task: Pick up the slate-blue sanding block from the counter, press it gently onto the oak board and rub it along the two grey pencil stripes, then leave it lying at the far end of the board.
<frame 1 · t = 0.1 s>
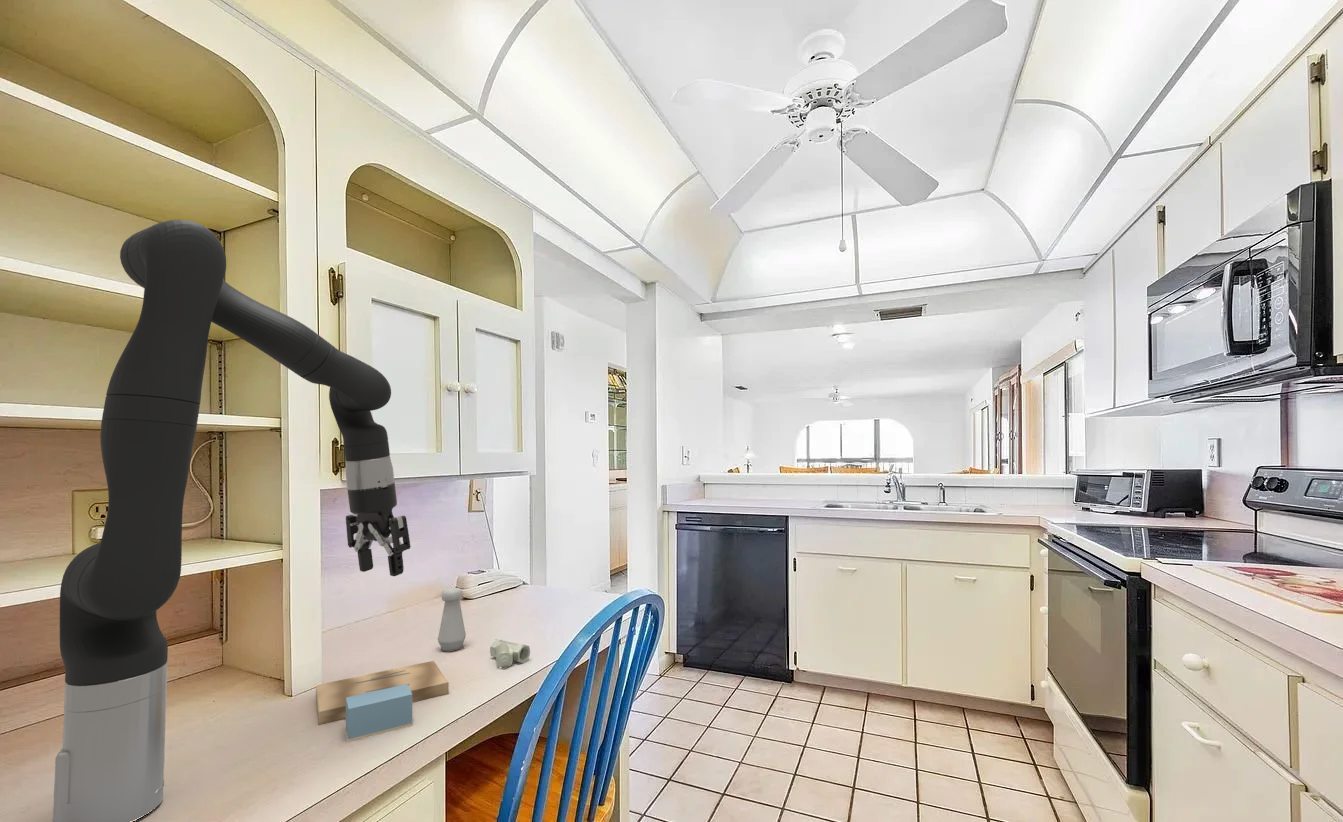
hand: (381, 572, 104), 22 cm above the counter, tool pointing down, fingers open, 8 cm apart
sanding block: (379, 727, 92), on the counter
pipe fitting: (504, 664, 119), on the counter
oak board: (382, 695, 104), on the counter
salt shaker: (451, 649, 128), on the counter
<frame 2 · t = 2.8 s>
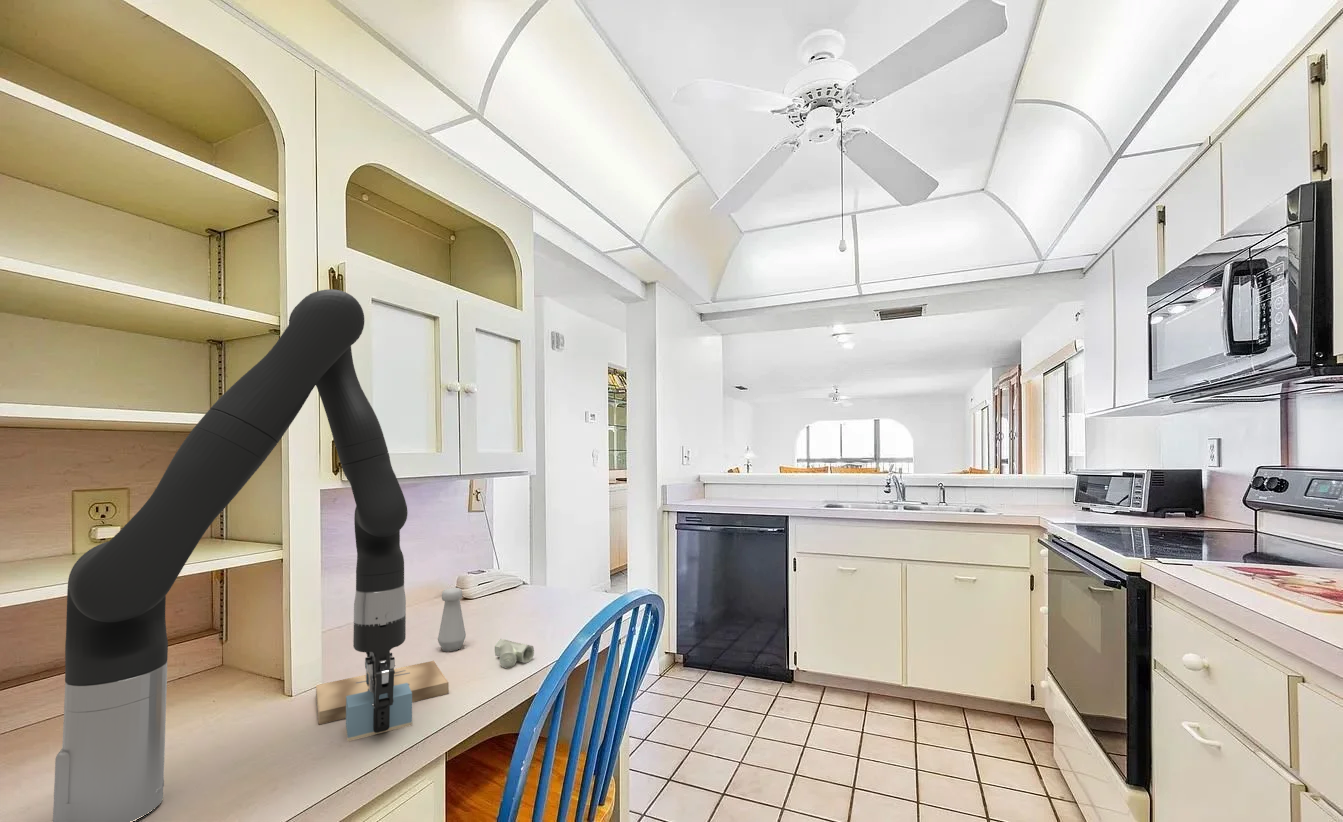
hand: (379, 723, 93), 1 cm above the counter, tool pointing down, fingers closed on sanding block, 5 cm apart
sanding block: (378, 726, 93), on the counter, touching gripper
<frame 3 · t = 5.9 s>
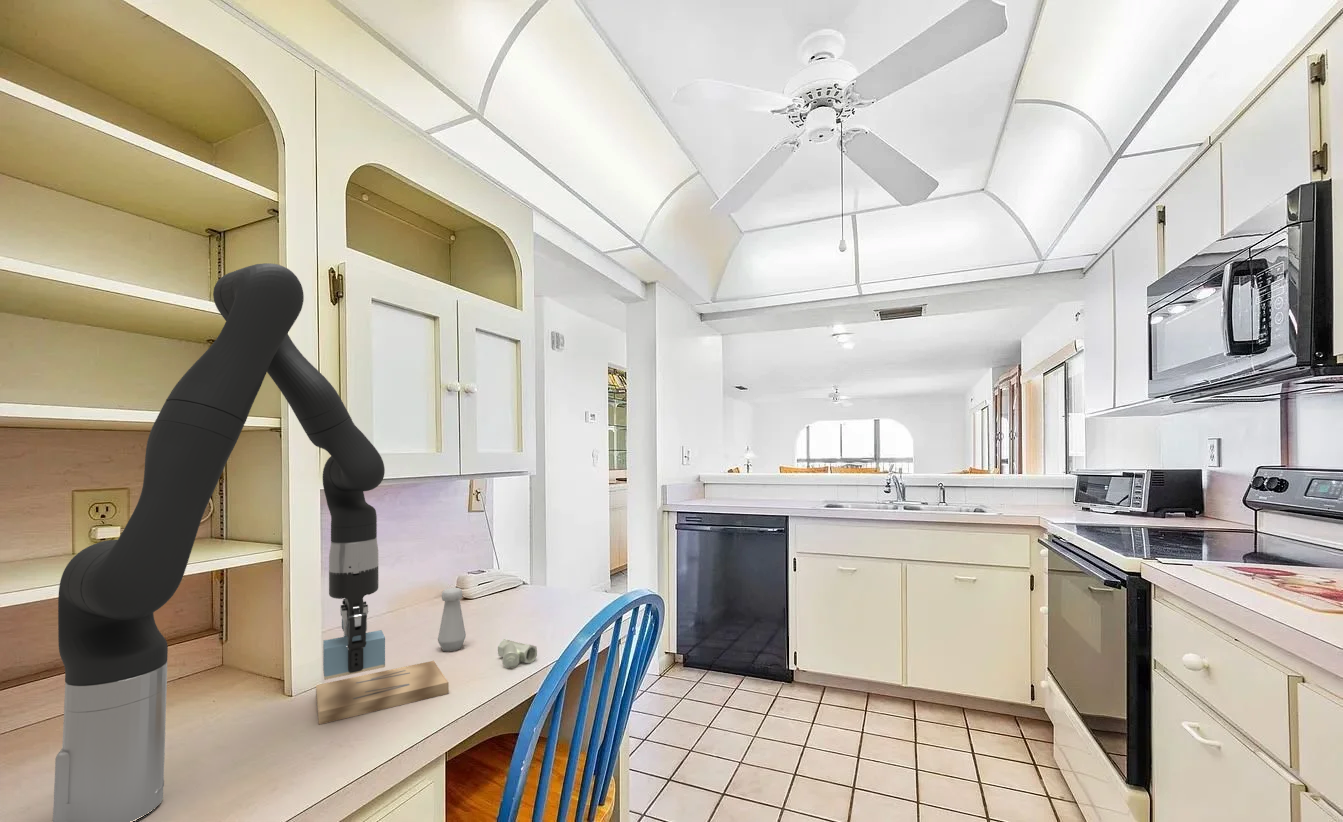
hand: (354, 665, 99), 7 cm above the counter, tool pointing down, fingers closed on sanding block, 5 cm apart
sanding block: (354, 668, 99), point 7 cm above the counter, touching gripper
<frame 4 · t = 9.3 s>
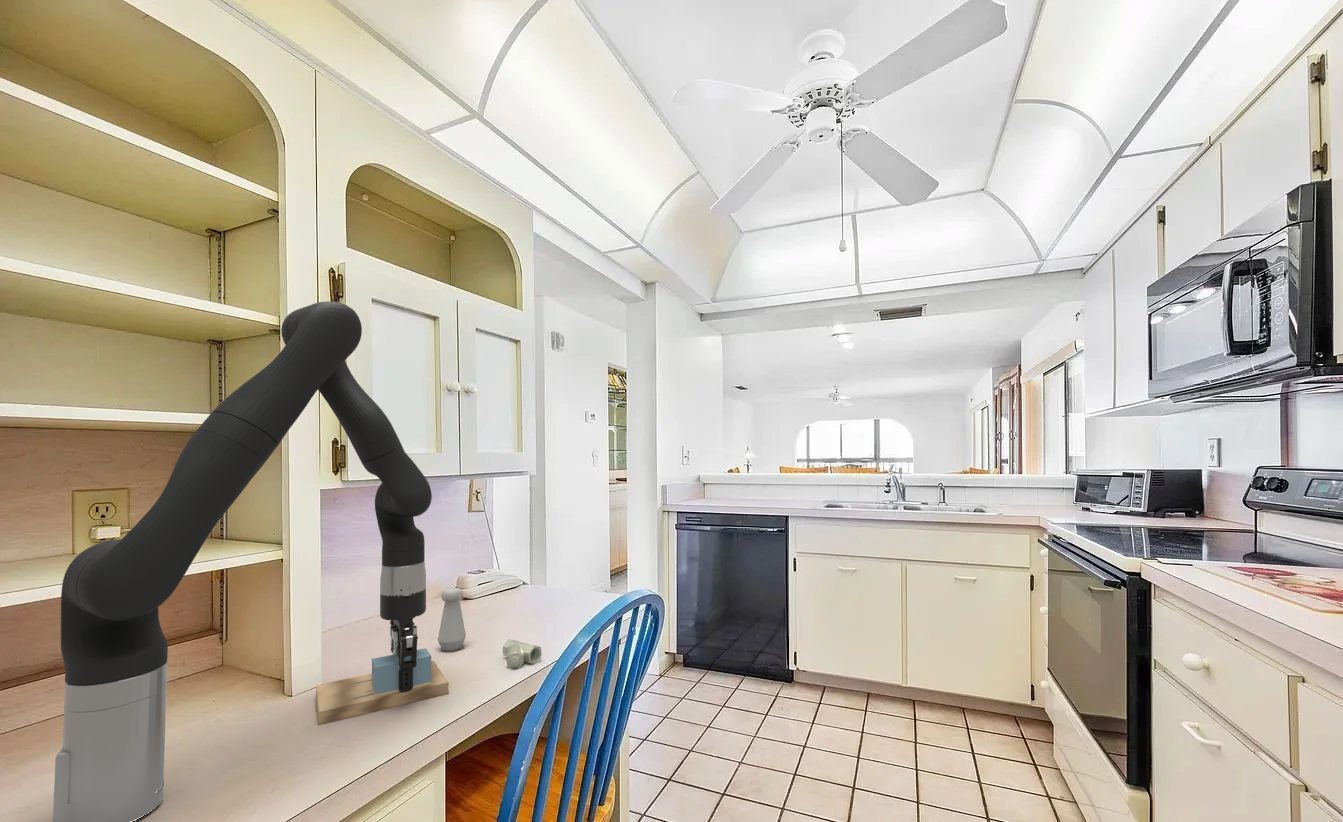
hand: (403, 684, 103), 2 cm above the counter, tool pointing down, fingers closed on sanding block, 5 cm apart
sanding block: (401, 686, 103), point 2 cm above the counter, touching gripper, oak board
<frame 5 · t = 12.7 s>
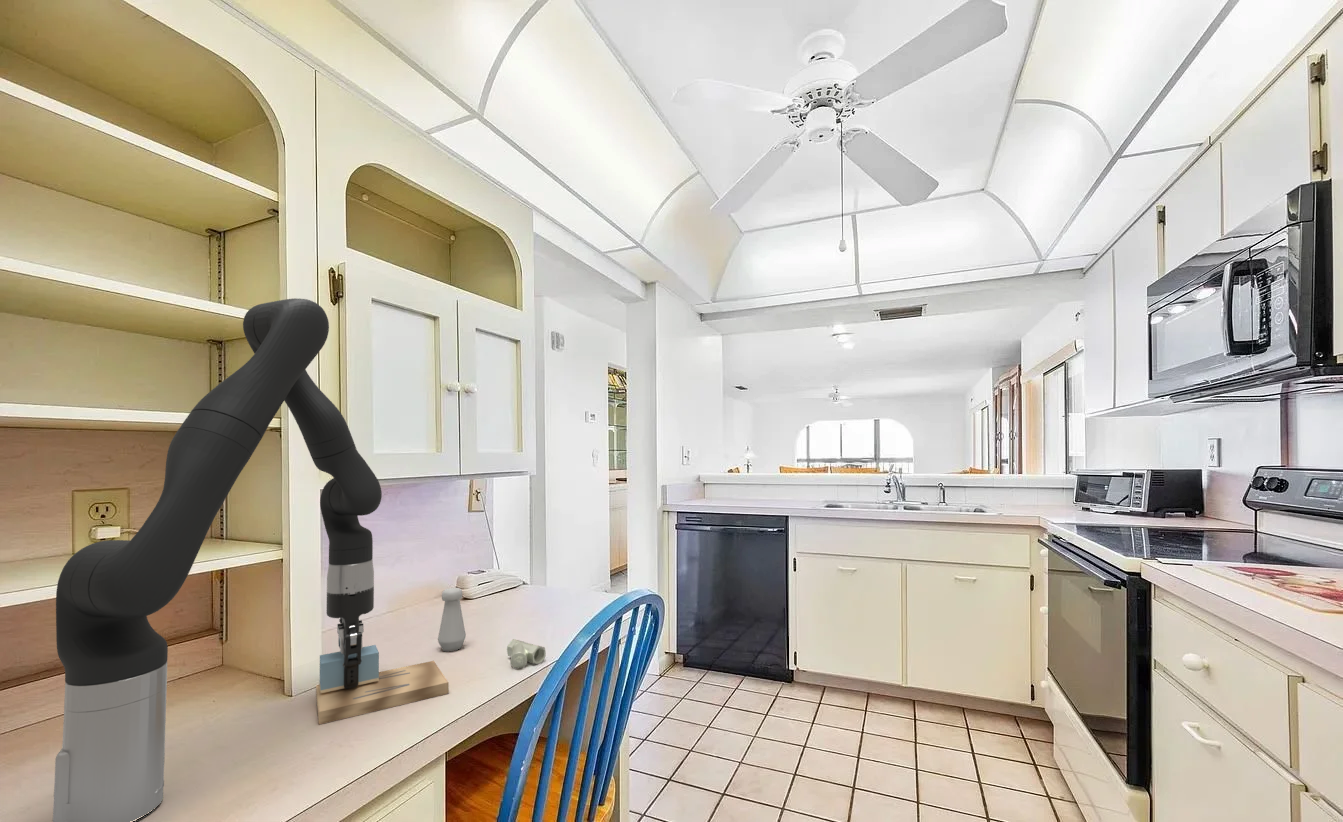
hand: (349, 681, 104), 3 cm above the counter, tool pointing down, fingers closed on sanding block, 5 cm apart
sanding block: (349, 682, 104), point 2 cm above the counter, touching gripper
when the fingers open (3 cm above the counter, at t = 16.0 s): sanding block stays where it is, resting on oak board.
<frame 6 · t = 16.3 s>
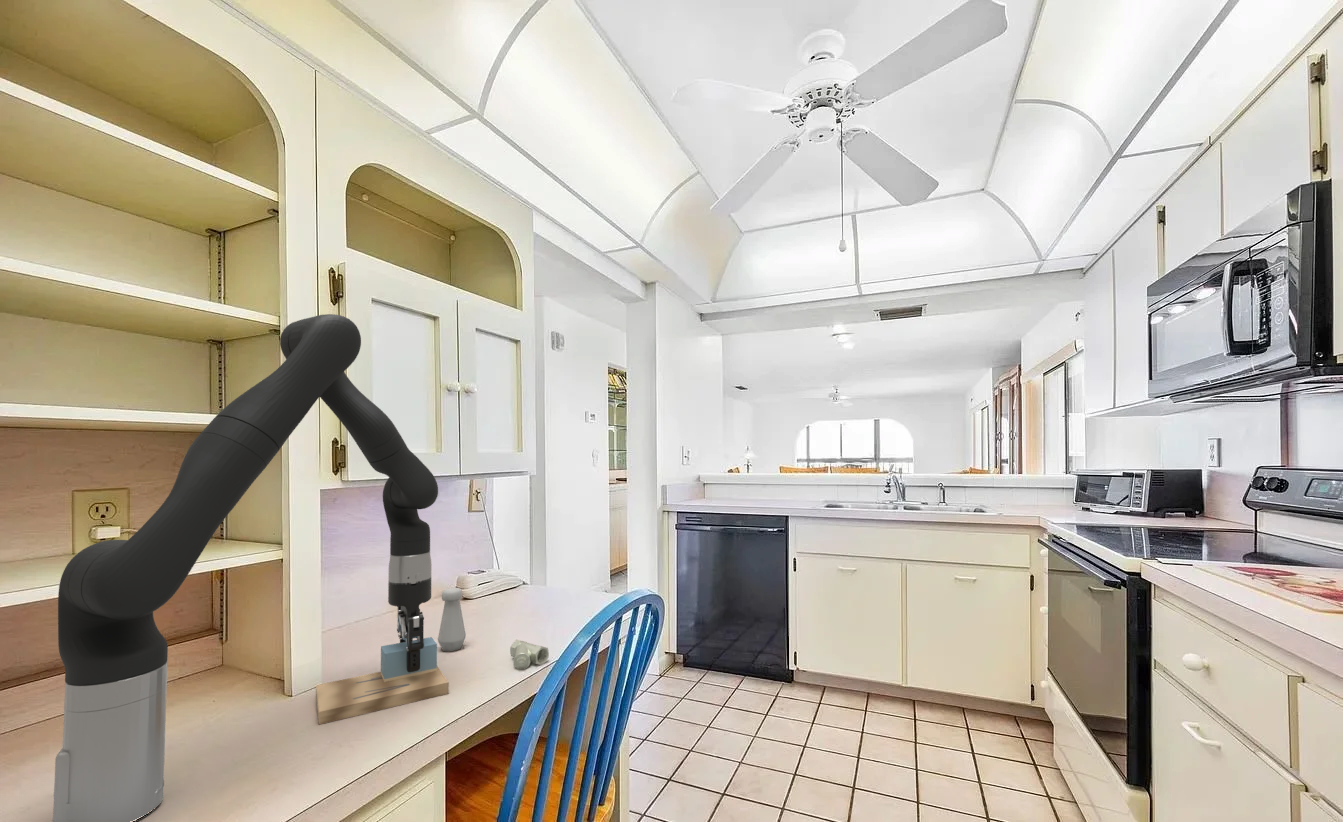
hand: (409, 664, 110), 3 cm above the counter, tool pointing down, fingers open, 7 cm apart
sanding block: (408, 672, 110), point 2 cm above the counter, touching oak board
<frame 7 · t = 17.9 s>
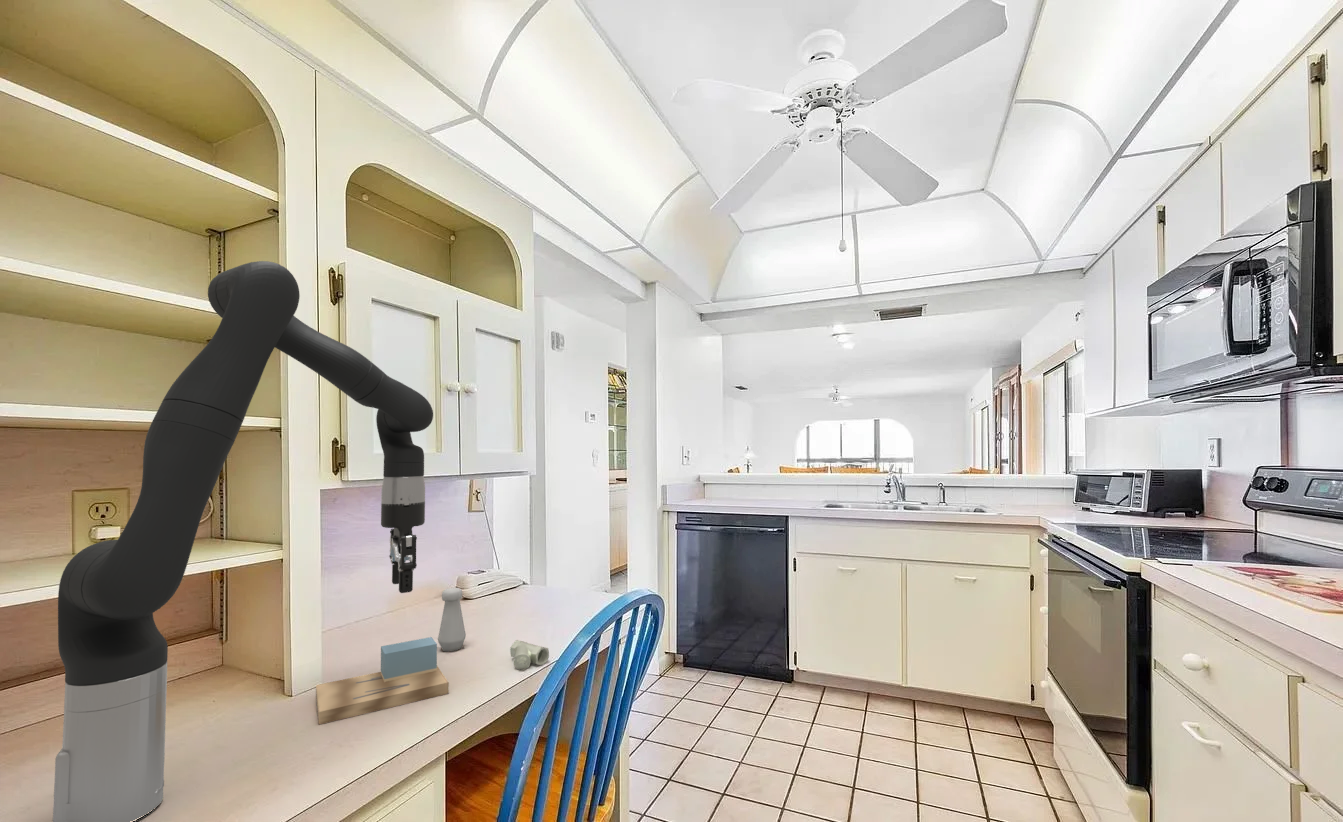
hand: (401, 587, 108), 18 cm above the counter, tool pointing down, fingers open, 8 cm apart
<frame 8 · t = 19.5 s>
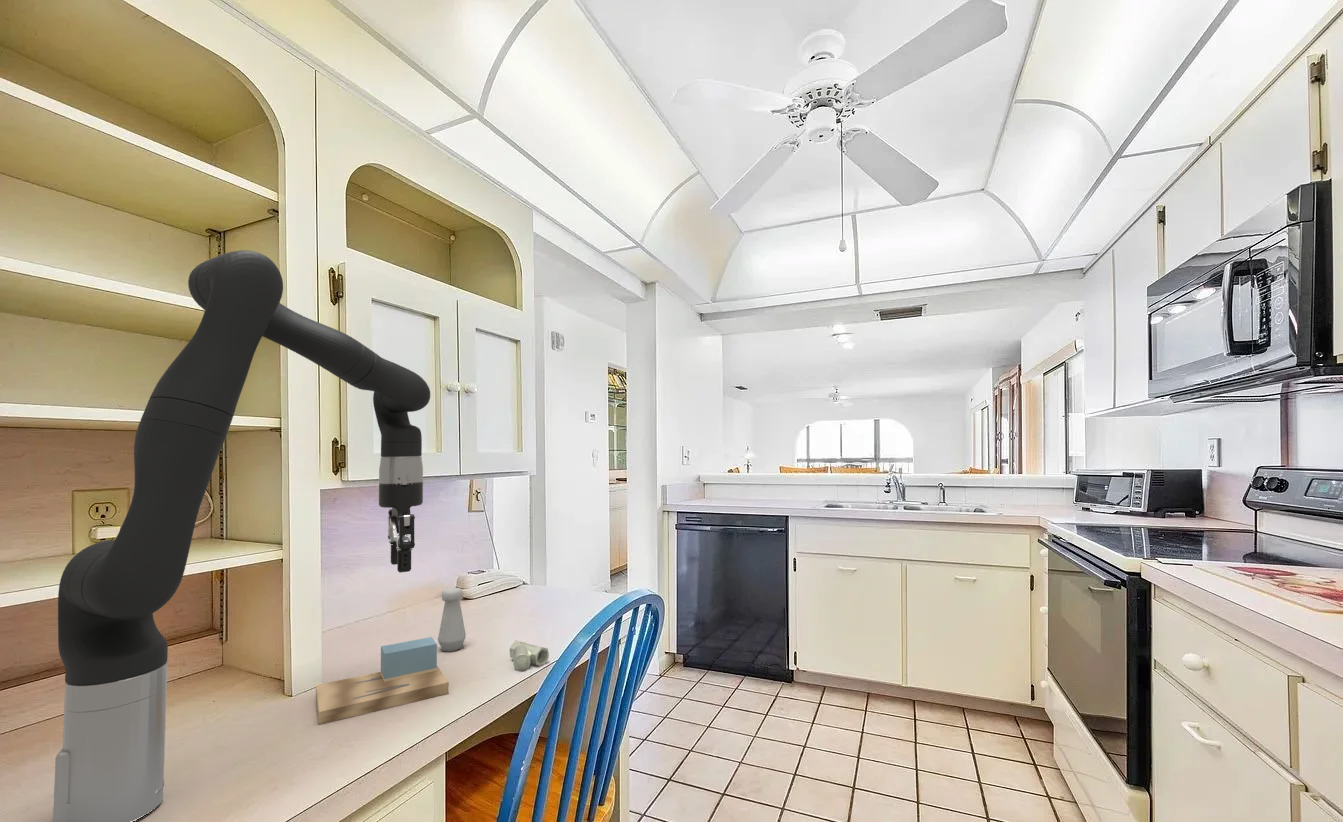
hand: (400, 567, 108), 22 cm above the counter, tool pointing down, fingers open, 8 cm apart
at the end: sanding block inside the target area on the oak board (3.3 cm from its centre), point 2.0 cm above the oak board's base; the gripper is holding nothing; sanding block tilted 0° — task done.
